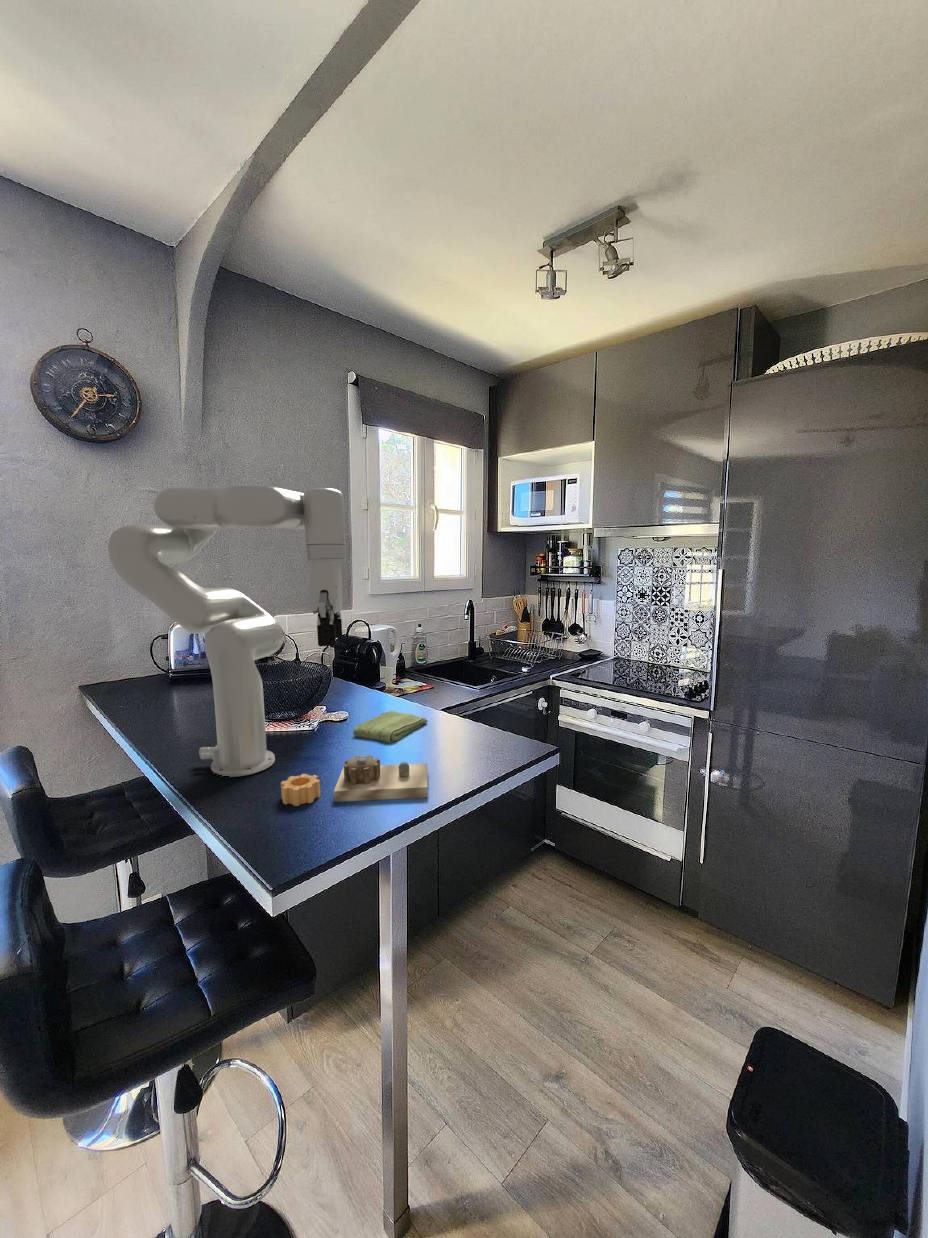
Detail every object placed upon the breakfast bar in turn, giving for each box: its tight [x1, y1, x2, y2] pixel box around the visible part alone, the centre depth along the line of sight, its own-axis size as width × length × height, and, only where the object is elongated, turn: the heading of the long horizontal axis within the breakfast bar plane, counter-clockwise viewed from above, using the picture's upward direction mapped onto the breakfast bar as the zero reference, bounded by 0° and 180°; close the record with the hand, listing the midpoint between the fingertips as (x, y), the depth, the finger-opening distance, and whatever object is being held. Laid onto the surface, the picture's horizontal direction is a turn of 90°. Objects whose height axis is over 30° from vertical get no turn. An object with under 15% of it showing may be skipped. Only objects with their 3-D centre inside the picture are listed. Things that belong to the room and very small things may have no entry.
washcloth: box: [352, 710, 429, 744], centre depth 130 cm, size 13×18×3 cm
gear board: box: [333, 755, 429, 803], centre depth 97 cm, size 17×11×6 cm, turn 94°
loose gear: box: [280, 773, 321, 807], centre depth 93 cm, size 7×7×3 cm
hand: (330, 641), depth 99 cm, fingers open, 9 cm apart
